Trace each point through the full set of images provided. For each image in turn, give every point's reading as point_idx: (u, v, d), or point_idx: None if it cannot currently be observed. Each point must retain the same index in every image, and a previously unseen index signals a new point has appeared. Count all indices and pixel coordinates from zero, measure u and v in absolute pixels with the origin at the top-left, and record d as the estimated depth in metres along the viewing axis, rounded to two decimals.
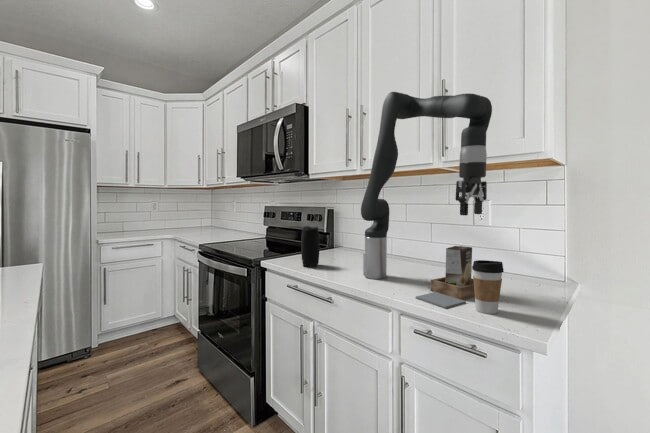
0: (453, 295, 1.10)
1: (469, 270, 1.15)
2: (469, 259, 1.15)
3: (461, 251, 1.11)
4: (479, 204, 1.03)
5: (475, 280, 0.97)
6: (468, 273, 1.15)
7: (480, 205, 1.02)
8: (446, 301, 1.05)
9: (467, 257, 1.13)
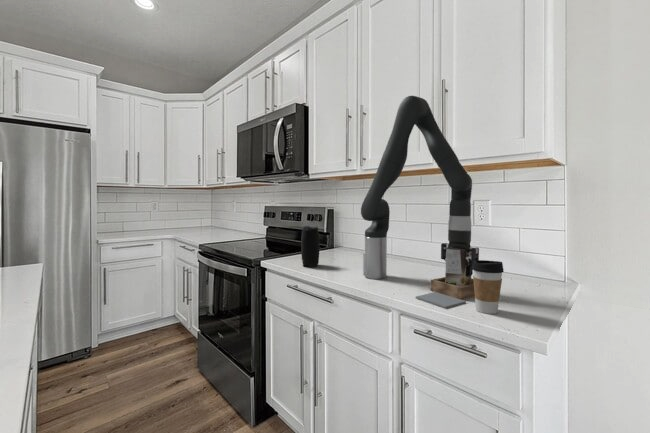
0: (453, 295, 1.10)
1: None
2: None
3: (461, 251, 1.11)
4: None
5: (475, 280, 0.97)
6: None
7: None
8: (446, 301, 1.05)
9: None
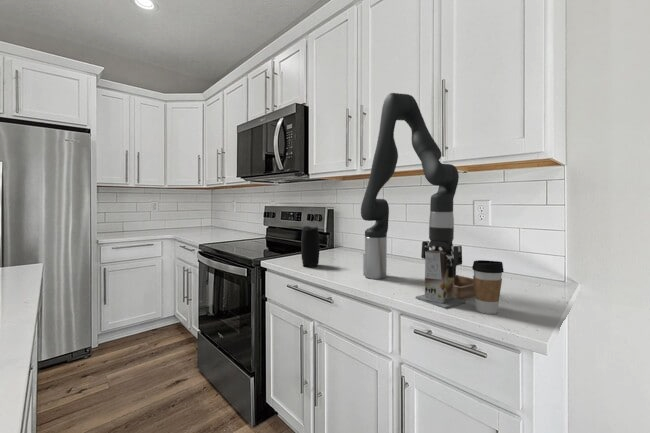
0: None
1: None
2: None
3: (441, 254, 1.02)
4: None
5: (475, 280, 0.97)
6: (450, 278, 1.05)
7: None
8: (446, 301, 1.05)
9: None
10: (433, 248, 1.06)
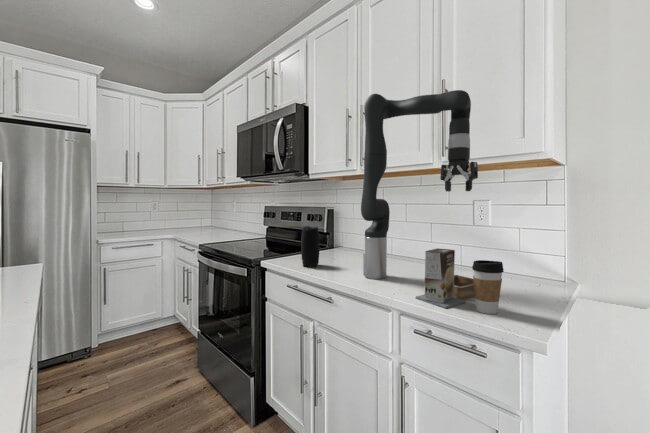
0: None
1: (451, 275, 1.06)
2: (451, 263, 1.05)
3: (441, 254, 1.02)
4: (450, 183, 1.25)
5: (475, 280, 0.97)
6: (450, 278, 1.05)
7: (450, 184, 1.25)
8: (446, 301, 1.05)
9: (448, 261, 1.04)
10: (451, 167, 1.21)
